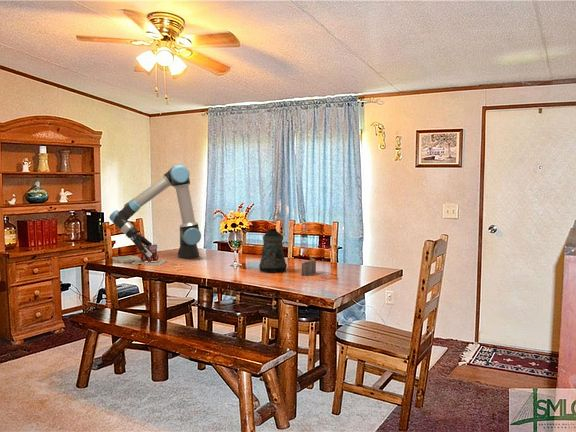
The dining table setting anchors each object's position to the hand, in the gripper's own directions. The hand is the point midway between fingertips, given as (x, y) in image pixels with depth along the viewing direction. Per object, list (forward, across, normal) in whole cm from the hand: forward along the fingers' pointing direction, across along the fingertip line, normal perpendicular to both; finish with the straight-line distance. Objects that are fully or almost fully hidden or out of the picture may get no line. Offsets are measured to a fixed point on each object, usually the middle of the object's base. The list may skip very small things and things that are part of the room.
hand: (153, 254), depth 326 cm
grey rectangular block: (+77, +26, +66) cm, 105 cm away
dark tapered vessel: (+60, +16, +50) cm, 80 cm away
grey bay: (+2, 0, -6) cm, 7 cm away
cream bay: (-12, -12, -20) cm, 27 cm away
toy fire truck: (+1, 0, -5) cm, 5 cm away
